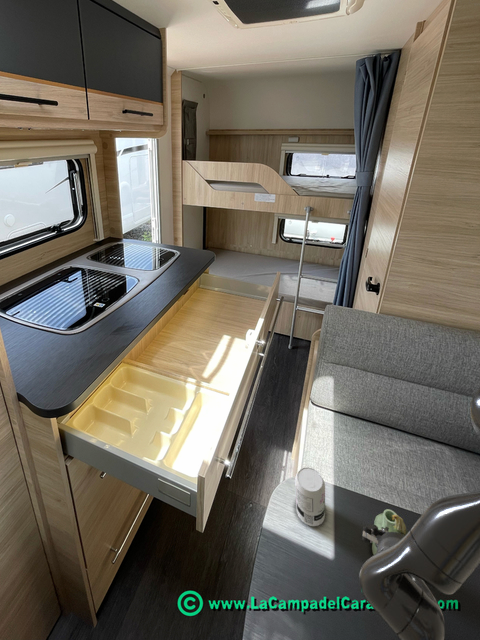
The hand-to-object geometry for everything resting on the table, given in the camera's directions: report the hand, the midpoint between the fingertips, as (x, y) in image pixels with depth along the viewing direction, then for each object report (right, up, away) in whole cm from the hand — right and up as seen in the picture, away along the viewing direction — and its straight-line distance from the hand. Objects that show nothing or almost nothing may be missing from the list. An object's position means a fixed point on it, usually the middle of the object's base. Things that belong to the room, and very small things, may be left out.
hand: (399, 538), depth 73 cm
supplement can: (-11, -14, +25) cm, 31 cm away
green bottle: (+5, -16, +13) cm, 21 cm away
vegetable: (0, -10, +2) cm, 10 cm away
